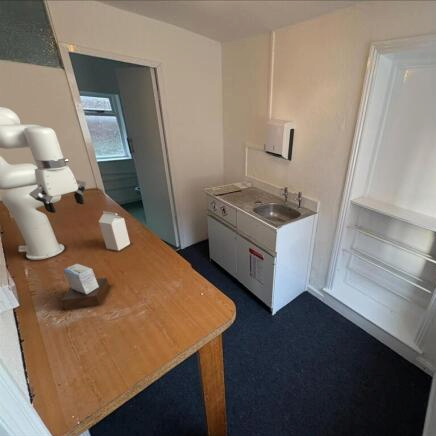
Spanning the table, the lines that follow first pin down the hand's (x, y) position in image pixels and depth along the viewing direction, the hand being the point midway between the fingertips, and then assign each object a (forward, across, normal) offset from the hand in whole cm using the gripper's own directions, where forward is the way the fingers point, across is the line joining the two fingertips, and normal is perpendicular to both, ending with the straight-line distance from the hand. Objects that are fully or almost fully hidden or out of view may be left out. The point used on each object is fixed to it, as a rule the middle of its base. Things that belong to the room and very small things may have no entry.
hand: (66, 207), depth 90 cm
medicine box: (+24, +13, +19) cm, 33 cm away
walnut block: (+28, +13, +19) cm, 36 cm away
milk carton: (+28, -17, -4) cm, 33 cm away
